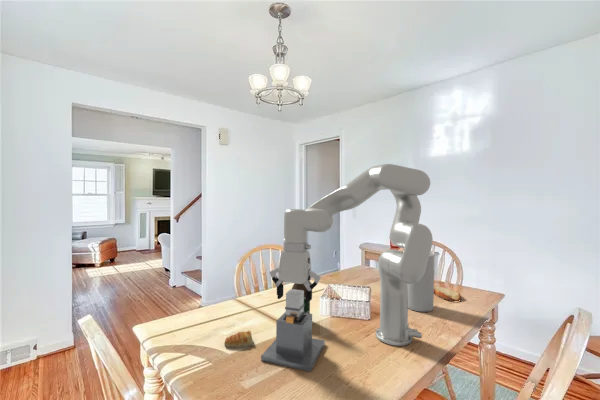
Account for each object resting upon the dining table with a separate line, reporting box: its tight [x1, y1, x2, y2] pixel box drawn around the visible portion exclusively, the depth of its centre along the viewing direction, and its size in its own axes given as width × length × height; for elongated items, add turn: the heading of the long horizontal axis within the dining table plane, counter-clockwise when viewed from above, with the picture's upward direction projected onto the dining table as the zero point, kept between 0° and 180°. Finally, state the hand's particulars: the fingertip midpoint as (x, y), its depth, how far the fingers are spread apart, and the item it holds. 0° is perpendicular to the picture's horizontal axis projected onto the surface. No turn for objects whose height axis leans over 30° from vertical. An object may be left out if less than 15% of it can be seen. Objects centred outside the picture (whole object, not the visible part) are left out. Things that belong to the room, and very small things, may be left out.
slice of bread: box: [434, 285, 462, 302], centre depth 148 cm, size 18×18×4 cm
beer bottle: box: [291, 283, 311, 314], centre depth 115 cm, size 8×8×24 cm
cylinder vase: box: [407, 252, 435, 313], centre depth 131 cm, size 12×12×25 cm
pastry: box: [224, 330, 254, 349], centre depth 98 cm, size 9×7×4 cm
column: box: [284, 288, 305, 322], centre depth 92 cm, size 5×5×18 cm
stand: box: [260, 311, 326, 373], centre depth 92 cm, size 16×16×13 cm
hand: (294, 299), depth 92 cm, fingers open, 9 cm apart
